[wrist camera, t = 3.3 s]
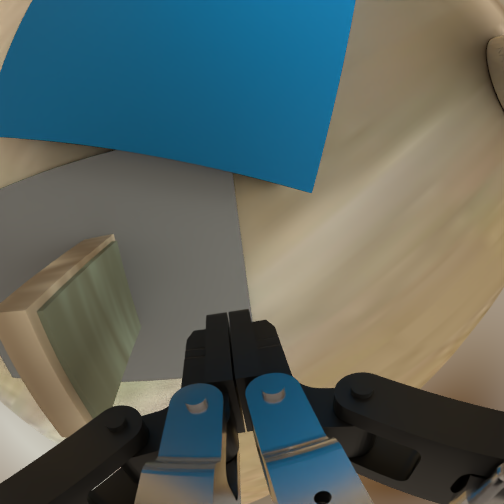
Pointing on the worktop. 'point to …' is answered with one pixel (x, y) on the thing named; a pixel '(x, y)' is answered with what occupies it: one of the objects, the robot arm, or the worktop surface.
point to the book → (182, 80)
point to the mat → (135, 243)
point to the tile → (73, 332)
